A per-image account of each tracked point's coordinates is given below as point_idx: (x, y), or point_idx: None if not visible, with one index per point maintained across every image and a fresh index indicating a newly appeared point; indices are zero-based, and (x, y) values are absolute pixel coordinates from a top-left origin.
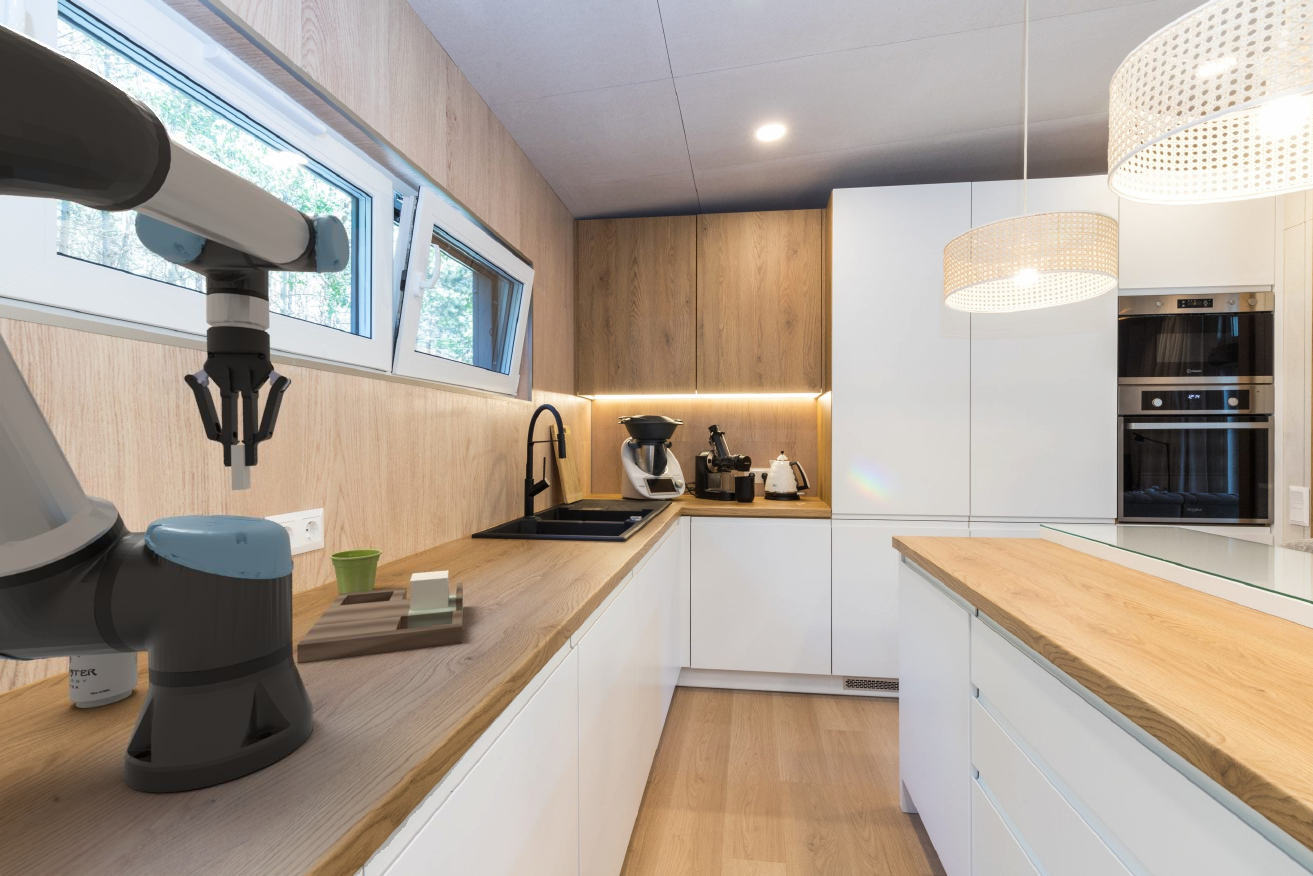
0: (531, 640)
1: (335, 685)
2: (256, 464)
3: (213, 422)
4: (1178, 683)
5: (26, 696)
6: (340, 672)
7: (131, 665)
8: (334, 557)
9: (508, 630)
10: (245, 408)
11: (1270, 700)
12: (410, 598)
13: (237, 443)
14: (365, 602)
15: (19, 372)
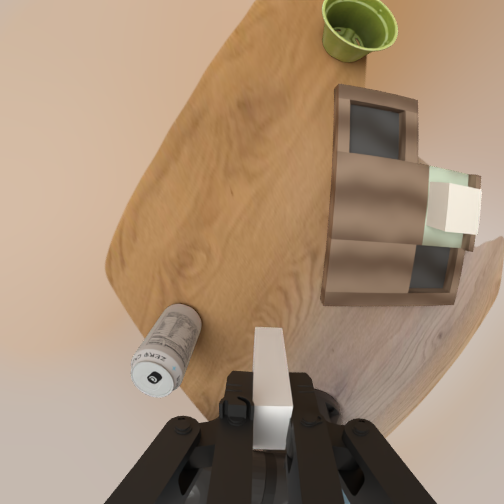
0: (481, 311)
1: (352, 359)
2: (307, 375)
3: (184, 501)
4: None
5: (118, 286)
6: (356, 334)
7: (197, 338)
8: (335, 32)
9: (479, 279)
10: None
11: None
12: (433, 227)
13: (248, 406)
14: (368, 106)
15: None
